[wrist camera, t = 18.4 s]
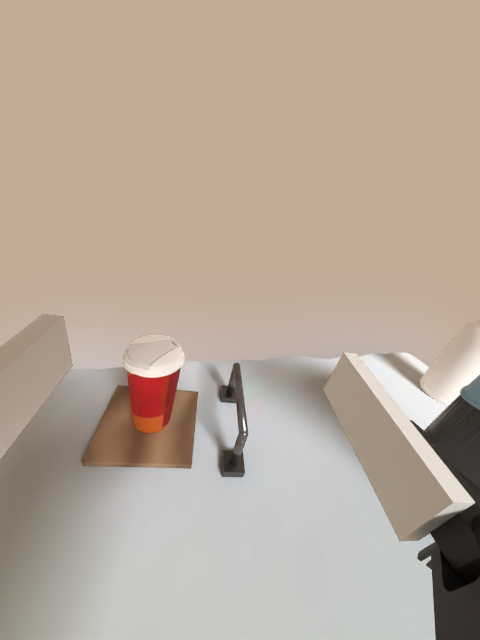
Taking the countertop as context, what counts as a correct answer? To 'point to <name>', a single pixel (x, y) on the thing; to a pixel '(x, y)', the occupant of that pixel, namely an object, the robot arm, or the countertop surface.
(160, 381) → the paper cup
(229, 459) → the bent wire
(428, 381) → the alcohol
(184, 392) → the walnut board
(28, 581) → the countertop surface
